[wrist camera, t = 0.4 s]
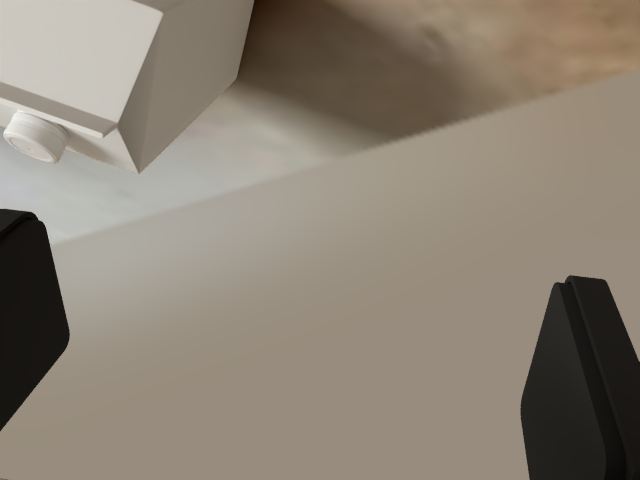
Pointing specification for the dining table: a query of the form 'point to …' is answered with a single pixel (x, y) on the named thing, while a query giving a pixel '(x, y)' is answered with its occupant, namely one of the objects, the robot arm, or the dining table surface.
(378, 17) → the dining table surface
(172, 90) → the milk carton
